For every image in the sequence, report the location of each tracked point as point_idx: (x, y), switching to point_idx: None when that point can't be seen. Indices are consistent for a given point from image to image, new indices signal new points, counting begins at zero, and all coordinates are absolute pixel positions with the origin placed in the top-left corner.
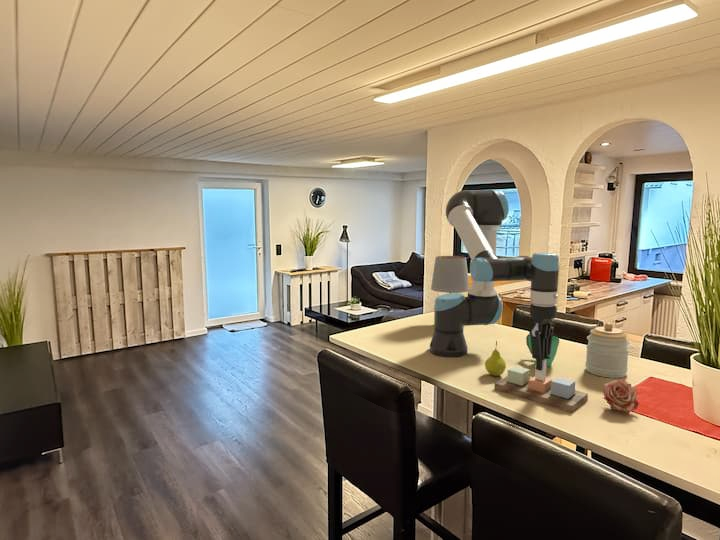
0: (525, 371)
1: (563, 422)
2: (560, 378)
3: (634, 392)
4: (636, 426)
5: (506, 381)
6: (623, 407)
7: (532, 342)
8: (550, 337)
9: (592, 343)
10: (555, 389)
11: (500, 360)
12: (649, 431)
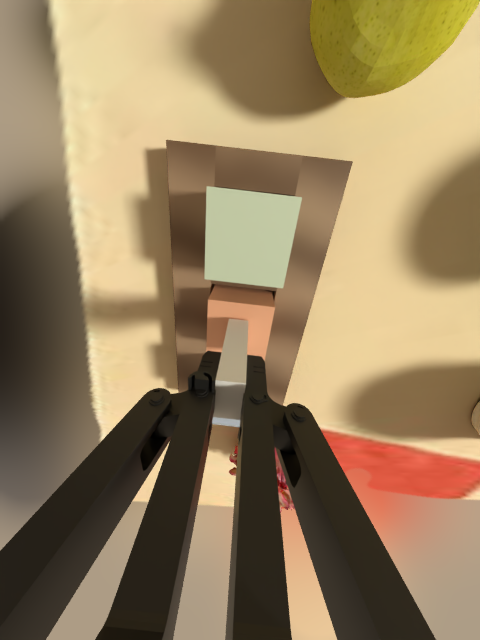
0: (241, 280)
1: (125, 384)
2: None
3: None
4: (209, 458)
5: (223, 184)
6: None
7: (8, 557)
8: (332, 623)
9: None
10: None
11: (392, 15)
12: (204, 468)
